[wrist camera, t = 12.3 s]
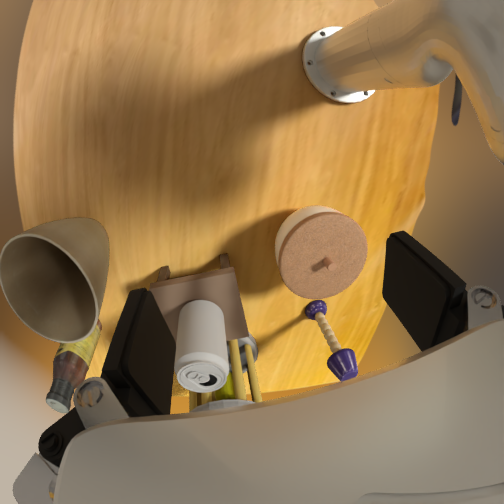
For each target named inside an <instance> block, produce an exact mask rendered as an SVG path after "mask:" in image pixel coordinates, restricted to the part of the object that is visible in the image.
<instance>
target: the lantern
mask: <svg viewBox="0 0 504 504" xmlns="http://www.w3.org/2000/svg"><path fill="white" fill-rule="evenodd" d="M248 333H249V332H248ZM226 344H227V353H228V362H229V374H228V376H227V381H226V383H225V384H224V385H223V386H222V387H221V388H220V389H218V390H215V391H212V392H206V393H200V392H193V391H190V390H189V409H190V410H189V413H190V412H198V411H207V410H215V409H222V408H229V407H236V406H242V405H247V404H253V403H258V402H262V398H261V393H260V388H259V383H258V378H257V373H256V369H255V364H254V363H255V361H256V360H257V355H258V348H257V345H256V341H255V339H254V338H253V336H252V335H251V334H250V333H249V337H245V338H240V339H235V340H230V341H226ZM246 371H247V373H248V379H249V384H250V390H251V395H252V401H253V402H252V401H247V398H246V391H245V385H244V379H243V373H244V372H246Z"/></svg>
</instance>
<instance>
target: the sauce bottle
mask: <svg viewBox="0 0 504 504" xmlns="http://www.w3.org/2000/svg"><path fill="white" fill-rule="evenodd" d="M101 330H102V326H101V323H100V321H99V319H98V321H97V325H96V327H95V329H94V331H93V332H92V334H91V335H90V336H88V337H87V338H86V339H84V340H82V341H79V342H75V343H61V344H60V347H59V349H58V351H57V353H56V355H55V358H54V361H53V383H52V386H51V389H50V392H49V393H48V394H47V397H46V403H47V404H48V405H49V406H50V407H51V408H52V409H54V410H56V411H58V412H60V413H68V412H69V410H70V406H71V398H72V395H73V394H74V389H75V388H77V387H78V386H79V385H80V384H81V383H82V382H83V381H84V380H85V376H86V373H87V371H88V369H89V366H90V363H91V360H92V357H93V354H94V351H95V348H96V345H97V343H98V340H99V337H100V332H101Z"/></svg>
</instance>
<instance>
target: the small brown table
mask: <svg viewBox="0 0 504 504" xmlns="http://www.w3.org/2000/svg"><path fill="white" fill-rule="evenodd" d="M220 263H221V269H219V270H214V271H209V272H204V273H200V274H195V275H190V276H185V277H180V278H175V279H170V280H169V276H170V270H169V267H168V266H165V267H161V269H160V273H159V277H158V280H157V282H155V283H151V284H150V287H149V291H151V292H152V294H153V296H154V298H155V300H156V302H157V305H158V307H159V309H160V311H161V313H162V315H163V317H164V319H165V321H166V323H167V325H168V327H169V329H170V331H171V333H172V335H173V337H174V339H175V342H177V332H178V322H179V314H180V311H181V309H182V308H183V307H184V306H185V305H186V304H187V303H189V302H192V301H195V300H206V301H210V302H213V303H215V304H216V305H217V306H218V307H219V308H220V309H221V310H222V312H223V315H224V324H225V334H226V341H230V340H235V339H240V338H245V337H249V333H248V328H247V324H246V320H245V315H244V311H243V307H242V302H241V298H240V293H239V289H238V285H237V280H236V276H235V271H234V267H230V264H229V258H228V254H222V255H220Z"/></svg>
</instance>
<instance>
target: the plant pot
mask: <svg viewBox="0 0 504 504" xmlns="http://www.w3.org/2000/svg"><path fill="white" fill-rule="evenodd" d="M108 267H109V239H108V235H107V233H106V231H105V229H104V228H103V226H102V225H101V224H100V223H99V222H97V221H95V220H93V219H90V218H66V219H60V220H56V221H52V222H48V223H45V224H42V225H39V226H36V227H34V228H32V229H29V230H27V231H25V232H23V233H21V234H19V235H17V236H15V237H13V238H12V239H10V240H9V241H8V242H7V243H6V244H5V246H4V247H3V249H2V251H1V254H0V283H1V287H2V290H3V293H4V295H5V297H6V300H7V301H8V303H9V305H10V307H11V308H12V310H13V311H14V312H15V314H16V315H17V316H18V317H19V319H21V321H22V322H23V323H24V324H25V325H26V326H27V327H29V328H30V329H31V330H33V331H34V332H35V333H37V334H39V335H40V336H42V337H44V338H46V339H49V340H52V341H55V342H59V343H75V342H79V341H82V340H84V339H86V338H87V337H88V336H90V335H91V334H92V332H93V331H94V329H95V327H96V325H97V321H98V317H99V314H100V309H101V306H102V302H103V297H104V293H105V288H106V282H107V275H108Z"/></svg>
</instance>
